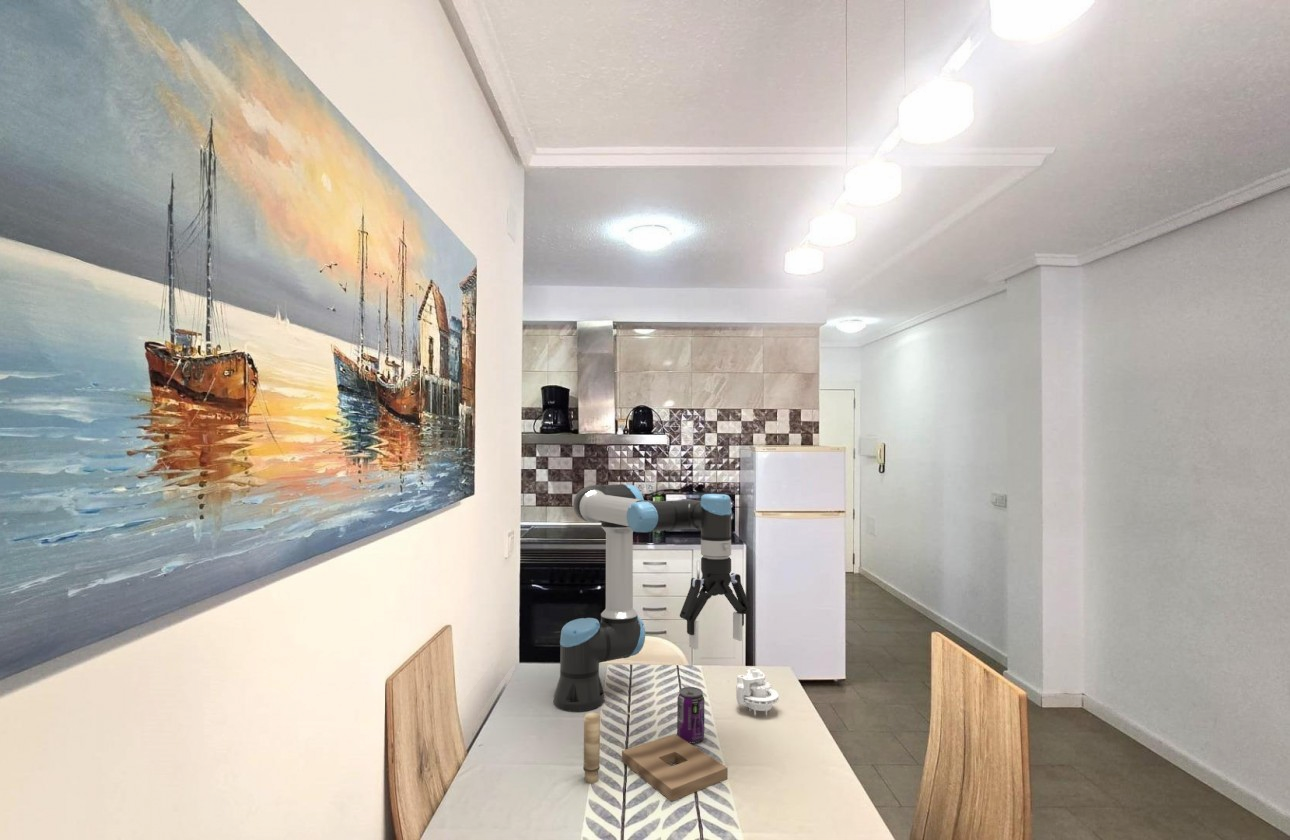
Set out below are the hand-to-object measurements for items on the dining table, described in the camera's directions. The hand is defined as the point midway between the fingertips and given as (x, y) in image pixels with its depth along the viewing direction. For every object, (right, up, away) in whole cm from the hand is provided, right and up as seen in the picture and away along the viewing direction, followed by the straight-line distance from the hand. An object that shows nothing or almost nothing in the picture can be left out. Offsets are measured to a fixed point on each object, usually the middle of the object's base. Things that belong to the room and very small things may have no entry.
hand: (716, 643), depth 145 cm
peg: (-30, -27, -11) cm, 42 cm away
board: (-11, -27, -7) cm, 30 cm away
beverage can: (-6, -28, +9) cm, 30 cm away
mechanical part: (+15, -30, +25) cm, 42 cm away
